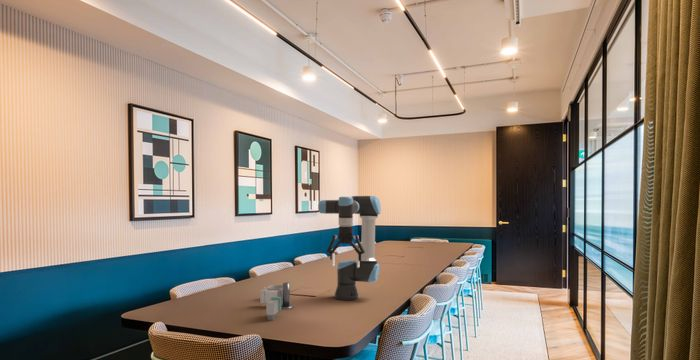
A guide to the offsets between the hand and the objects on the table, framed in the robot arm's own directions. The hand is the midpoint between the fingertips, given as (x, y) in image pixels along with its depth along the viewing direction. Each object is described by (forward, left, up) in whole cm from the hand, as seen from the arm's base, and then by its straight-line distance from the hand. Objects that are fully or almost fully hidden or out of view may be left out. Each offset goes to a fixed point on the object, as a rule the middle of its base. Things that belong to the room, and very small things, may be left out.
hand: (345, 266), depth 212 cm
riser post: (-16, -38, -27) cm, 49 cm away
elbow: (-16, -46, -26) cm, 56 cm away
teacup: (-34, -52, -27) cm, 68 cm away
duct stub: (+5, -38, -27) cm, 47 cm away
